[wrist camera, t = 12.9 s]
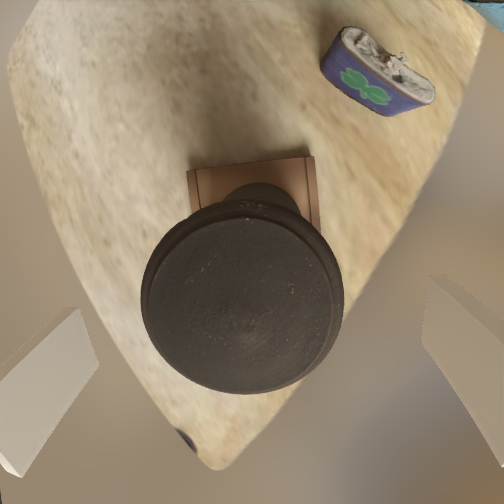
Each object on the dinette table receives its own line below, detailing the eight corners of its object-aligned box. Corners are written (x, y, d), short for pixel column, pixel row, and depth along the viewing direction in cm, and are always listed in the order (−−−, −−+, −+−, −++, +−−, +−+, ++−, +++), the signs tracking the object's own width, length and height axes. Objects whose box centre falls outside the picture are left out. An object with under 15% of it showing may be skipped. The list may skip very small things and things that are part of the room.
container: (194, 232, 32) (96, 331, 12) (251, 159, 30) (219, 152, 10) (262, 285, 33) (253, 435, 14) (321, 217, 31) (399, 305, 11)
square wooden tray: (190, 170, 31) (186, 171, 29) (311, 156, 30) (314, 156, 29) (207, 283, 34) (204, 290, 33) (320, 272, 34) (323, 278, 32)
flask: (400, 104, 28) (452, 86, 18) (387, 125, 29) (437, 113, 19) (326, 53, 27) (352, 10, 17) (312, 73, 28) (333, 35, 18)
